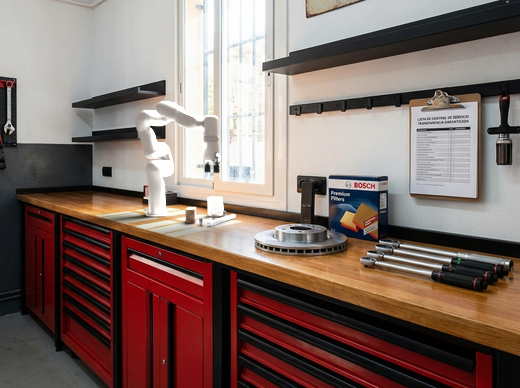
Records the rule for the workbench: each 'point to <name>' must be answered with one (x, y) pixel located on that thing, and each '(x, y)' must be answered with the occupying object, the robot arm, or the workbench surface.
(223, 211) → the screw pegs
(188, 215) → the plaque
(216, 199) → the mug
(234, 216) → the cleat rail
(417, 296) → the workbench surface
